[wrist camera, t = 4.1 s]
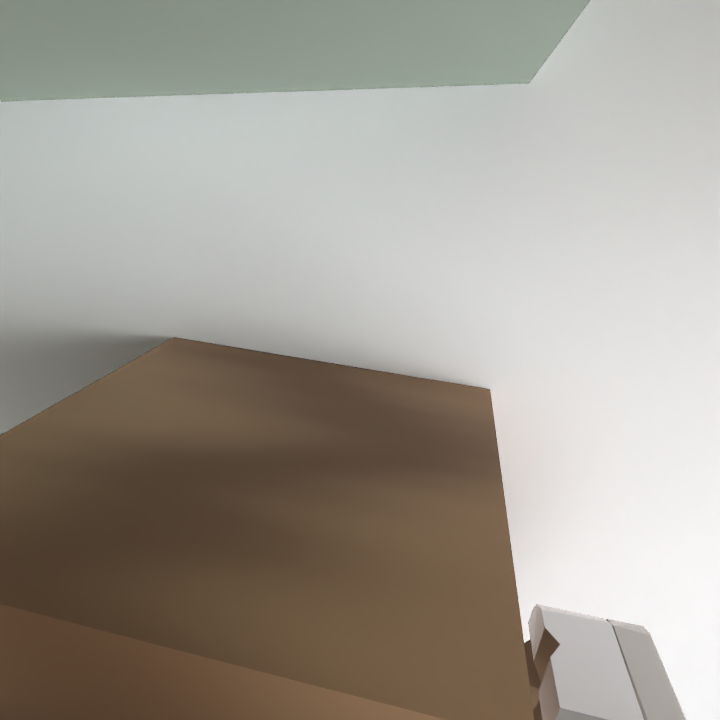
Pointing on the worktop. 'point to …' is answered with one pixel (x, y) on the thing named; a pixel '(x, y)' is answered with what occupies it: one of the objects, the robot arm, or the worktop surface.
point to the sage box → (270, 45)
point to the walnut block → (258, 547)
